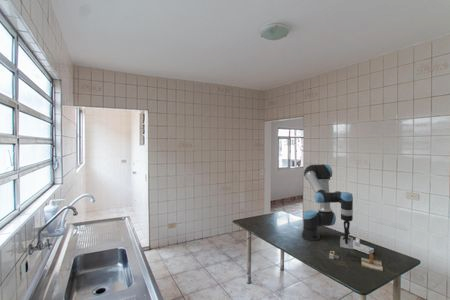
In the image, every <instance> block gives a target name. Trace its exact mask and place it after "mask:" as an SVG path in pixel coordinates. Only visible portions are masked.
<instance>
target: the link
mask: <svg viewBox="0 0 450 300" xmlns="http://www.w3.org/2000/svg"><path fill="white" fill-rule="evenodd" d="M343 238H344V235H341V236H340V239H339V247H340V248H344V239H343ZM348 238H349V248H348V249H350V250H354V249H353V240H354V237H352V236H349V237H348Z"/></svg>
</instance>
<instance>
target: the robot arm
mask: <svg viewBox="0 0 450 300" xmlns="http://www.w3.org/2000/svg"><path fill="white" fill-rule="evenodd" d="M303 176H304V178H305V180H306V181H308V183H309V185H310V186H311V188H312V190H313V191H314V201H315V202H316V203H318V204H319V208H318V211H317V210H313V209H311V210H306V211H304V212H303V216H302V219H303V221H302V222H303V223H302V225H303V229H302V231H301V238H302V239H303V240H306V241H307V242H308V241H310V242H316V241H319V240H320V233H319V231H318V227H330V226H334V225H335V223H336V214H335V212H334V211H333V210H332V209H331V203H338V204H340V209H339V211H340V219H341V220H342V221H343V230H344V233H343V236H344V238H343V239H344V247H343V248H344V249H349V238H348V237H350V233H351V232H350V226H351V225H350V224H351V222H352V221H353V220H354V216H353V215H354V208H353V207H354V206H353V205H354V204H353V203H354V202H353V200H354V198H353V197H354V196H353V193H351V192H347V191H343V192H342V191H340V190H336V191H334V192H330V184H329V181H330V180H331V178H332V177H333V170H332V167H331V166H330V164H324V163H323V164H310V165H308V166H307V167H306V168H305V169H304V171H303Z"/></svg>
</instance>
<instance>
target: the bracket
mask: <svg viewBox="0 0 450 300" xmlns="http://www.w3.org/2000/svg"><path fill="white" fill-rule="evenodd" d="M374 249H375V248H374V247H370V246H368V245H365V244H362V243H361V238H359V237H355V239H353V249H352V250H357V251H359V252H362V253H365V254H367V255H369V254H373V253H374ZM374 254H375V253H374Z"/></svg>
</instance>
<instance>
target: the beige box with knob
mask: <svg viewBox="0 0 450 300" xmlns="http://www.w3.org/2000/svg"><path fill="white" fill-rule="evenodd" d="M335 253H336V251H334V250H333V251H332V250H330V251H329V254H328V257H329V259H331V260H334V259H335V258H334V255H336V254H335Z"/></svg>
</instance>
